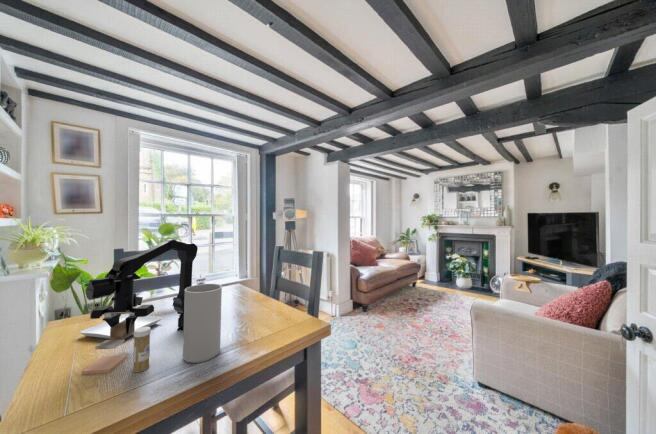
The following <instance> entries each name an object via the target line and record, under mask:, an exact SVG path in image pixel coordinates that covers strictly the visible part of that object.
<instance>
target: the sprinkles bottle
mask: <svg viewBox="0 0 656 434" xmlns="http://www.w3.org/2000/svg"><path fill="white" fill-rule="evenodd" d="M151 330H152V329H151V326H150V327H140V328H137V329H136V330H134V334H133V338H134V339H133V356H132V357H133V364H132V365H133V368H132V372H134V373H141V372H144V371H146V370H148V369H149V368H150V354H151V353H150V352H151V349H150V347H151V345H150V344H151V343H150V342H151V341H150V339H151Z"/></svg>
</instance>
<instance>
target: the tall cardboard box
mask: <svg viewBox="0 0 656 434" xmlns="http://www.w3.org/2000/svg"><path fill="white" fill-rule="evenodd" d="M134 328H135V322H134V325H133V327H132V329H131V332H130V333H129V334H127V332H126V320H123V321H122V322H120V323H118V324H117V325H115V326H113V327H112V328H110V339H106V340H104V341H103V342H101V343H100V344H98V345H96V346H95V347H94V350H95V351H96V350H97V351H98V350H113V349H116V348H118V347H119V346H121V345H122V344H123V343H124V342H125V339H127V338H128V337H130V336H132V335H131V334H132V333H134ZM129 335H130V336H129Z"/></svg>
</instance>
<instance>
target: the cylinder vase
mask: <svg viewBox="0 0 656 434" xmlns="http://www.w3.org/2000/svg"><path fill="white" fill-rule="evenodd" d="M222 286H223V285H221V284H218V283H202V284H195V285H191V286H190V287H187V288H186V289H185V298H184V330H183V337H182V340H183V341H182V343H183V344H182V358H183V360H184V361H185V362H187V363H192V364H195V363H196V364H198V363H204V362H206V361H209V360H212V359H214V358H215V357H216V356H217V355H218V354H219V353H220V352H221V335H222V334H221V330H222V326H221V325H222V322H221V321H222V290H223V289H222V288H223V287H222Z"/></svg>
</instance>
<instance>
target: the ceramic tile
mask: <svg viewBox="0 0 656 434" xmlns="http://www.w3.org/2000/svg"><path fill="white" fill-rule="evenodd" d="M126 359H128V354H122V355H121V354H119V355H104V356H101V357H99V358H98V359H97V360H96V361H94V362H93V363H91V364H90V365H88V366H87V367H86V368H85V369H83V370H81V375H92V374H93V375H94V374H109V373H111V372H112V371H113V370H114V369H115V368H117V367H118V366H119V365H120V364H122V363H123V362H124V361H125V360H126Z"/></svg>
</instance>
